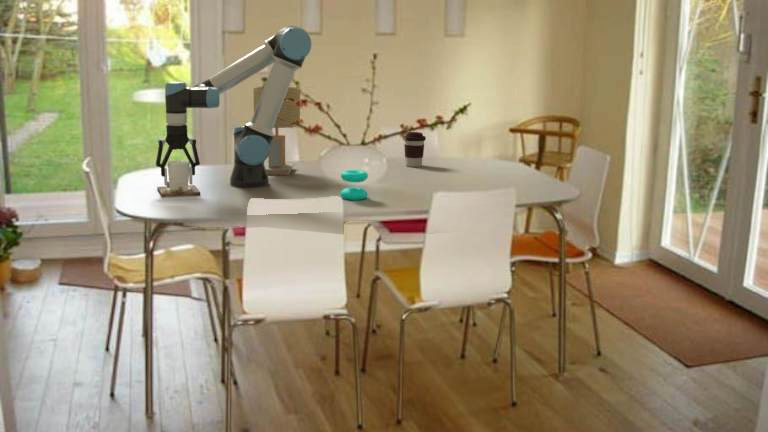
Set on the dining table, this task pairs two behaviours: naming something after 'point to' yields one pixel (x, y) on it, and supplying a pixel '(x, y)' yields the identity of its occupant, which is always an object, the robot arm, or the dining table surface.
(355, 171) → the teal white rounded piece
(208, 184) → the dining table surface
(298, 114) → the desk lamp
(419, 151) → the coffee cup
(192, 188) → the pin board
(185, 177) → the white cup
